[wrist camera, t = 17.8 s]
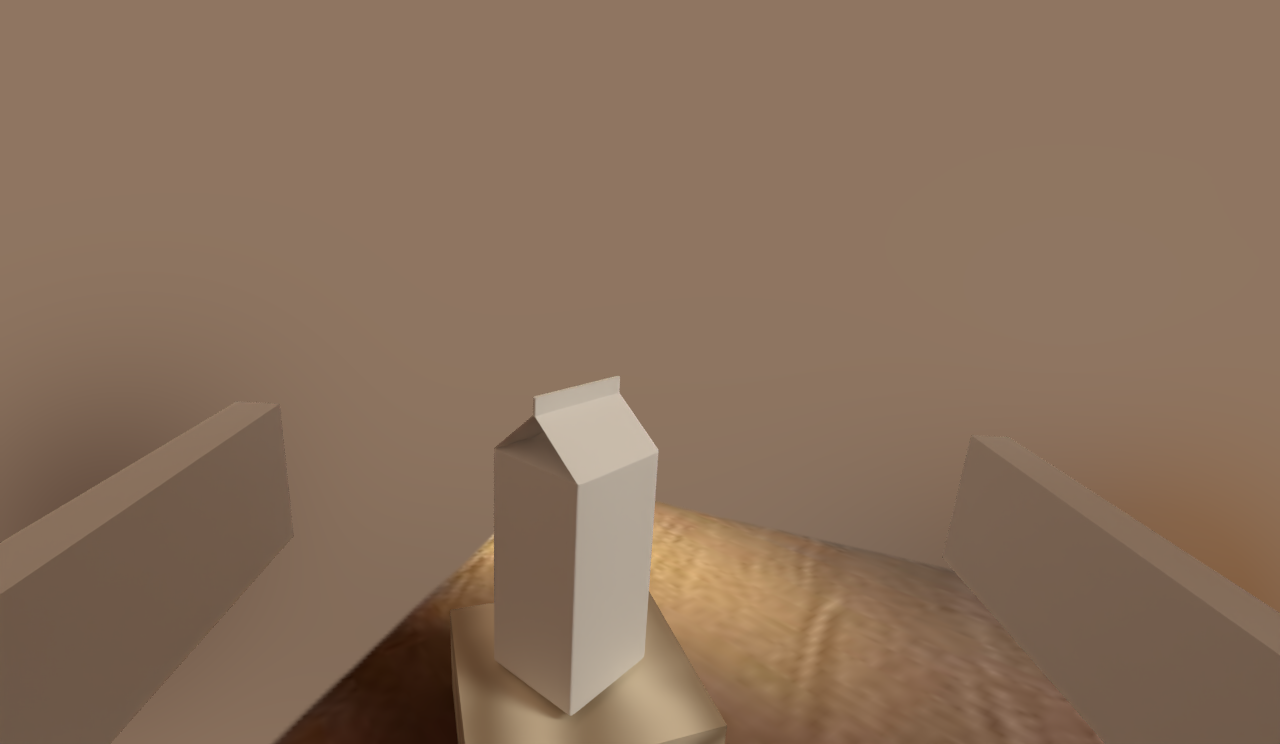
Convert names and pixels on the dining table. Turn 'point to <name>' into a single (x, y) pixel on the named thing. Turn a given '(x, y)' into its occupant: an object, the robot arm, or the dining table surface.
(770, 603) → the dining table surface
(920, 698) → the dining table surface
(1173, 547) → the robot arm
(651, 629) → the block
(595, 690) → the milk carton
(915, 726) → the dining table surface
